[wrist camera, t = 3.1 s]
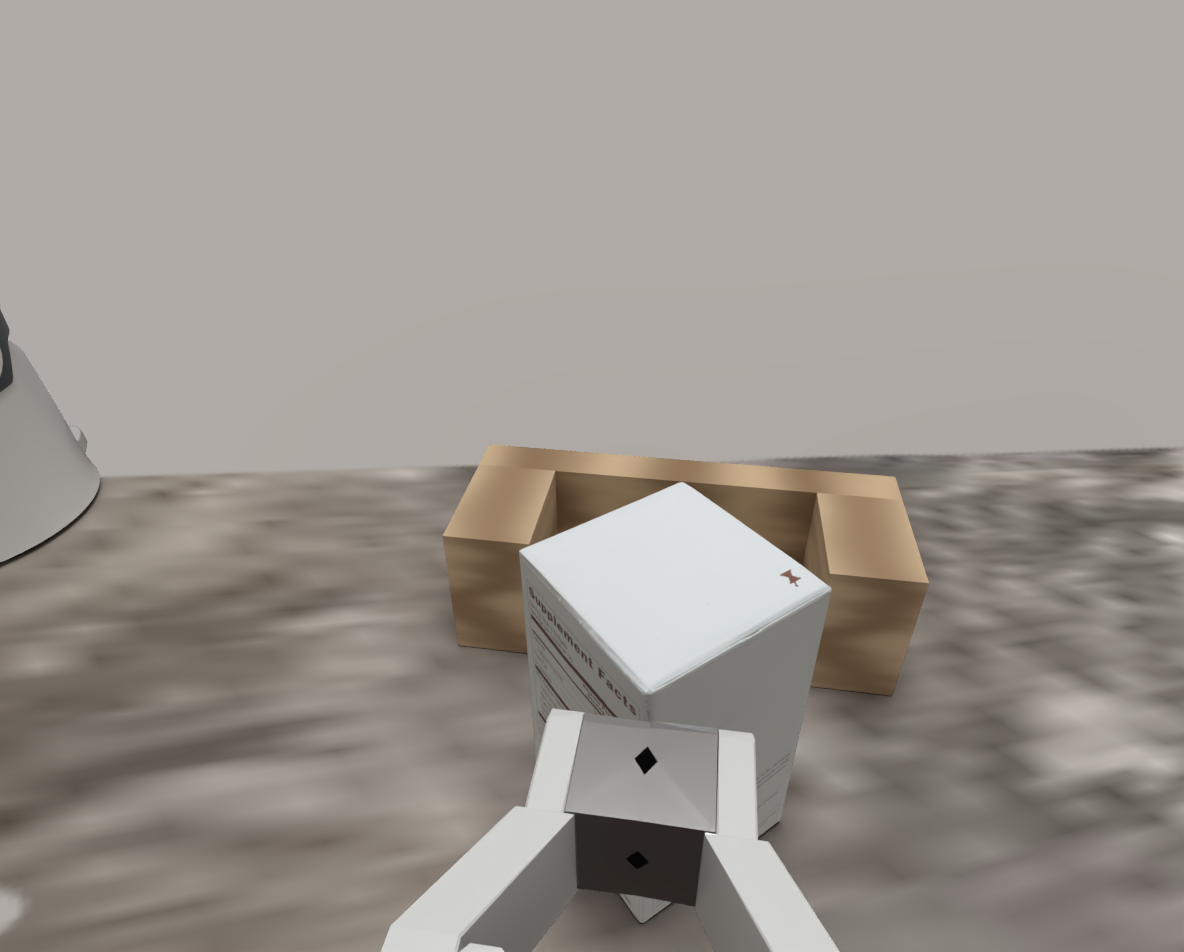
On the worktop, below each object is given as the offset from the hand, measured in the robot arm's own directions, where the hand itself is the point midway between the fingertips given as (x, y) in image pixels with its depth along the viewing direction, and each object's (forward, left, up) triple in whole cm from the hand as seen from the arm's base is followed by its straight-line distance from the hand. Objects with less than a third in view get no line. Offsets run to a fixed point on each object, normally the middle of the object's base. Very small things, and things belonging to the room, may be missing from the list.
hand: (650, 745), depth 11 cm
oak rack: (0, +22, -18) cm, 29 cm away
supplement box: (0, +11, -19) cm, 22 cm away
